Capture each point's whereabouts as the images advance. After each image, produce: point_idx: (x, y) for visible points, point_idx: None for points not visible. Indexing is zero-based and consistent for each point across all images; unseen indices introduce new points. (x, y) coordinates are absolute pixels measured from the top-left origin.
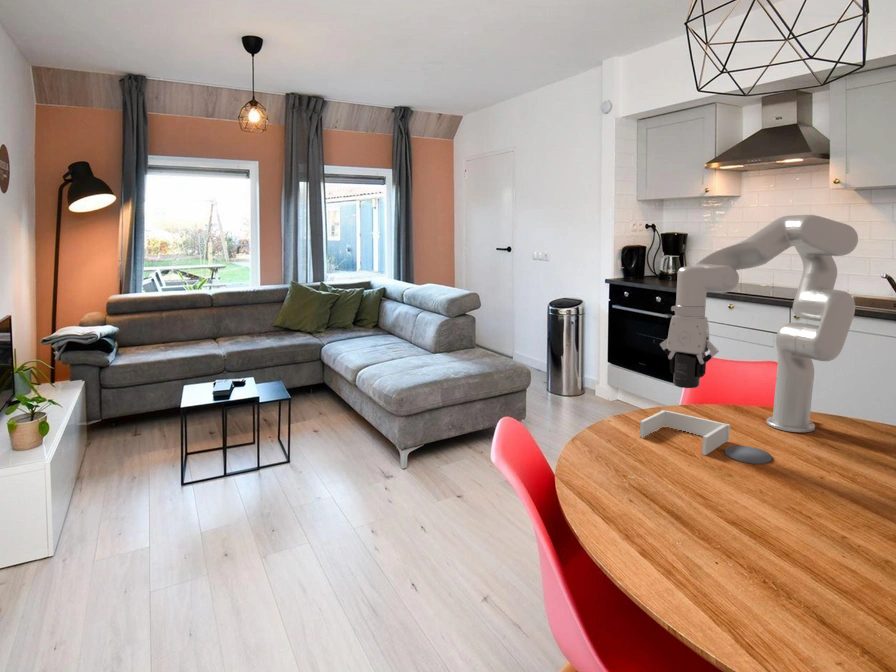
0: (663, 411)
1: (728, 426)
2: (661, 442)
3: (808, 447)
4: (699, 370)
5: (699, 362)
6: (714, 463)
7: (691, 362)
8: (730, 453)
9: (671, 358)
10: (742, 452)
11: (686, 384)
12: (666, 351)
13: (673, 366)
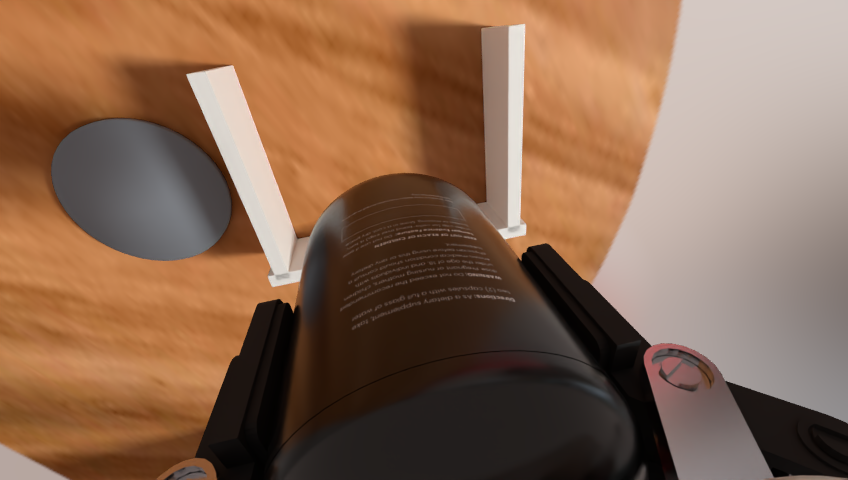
0: (512, 220)
1: (269, 274)
2: (408, 52)
3: (145, 374)
4: (242, 366)
5: (246, 477)
6: (123, 8)
7: (298, 404)
8: (171, 147)
9: (647, 360)
10: (163, 190)
11: (342, 198)
12: (825, 437)
13: (555, 296)
